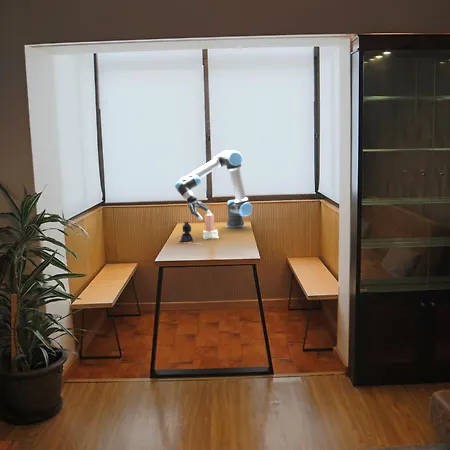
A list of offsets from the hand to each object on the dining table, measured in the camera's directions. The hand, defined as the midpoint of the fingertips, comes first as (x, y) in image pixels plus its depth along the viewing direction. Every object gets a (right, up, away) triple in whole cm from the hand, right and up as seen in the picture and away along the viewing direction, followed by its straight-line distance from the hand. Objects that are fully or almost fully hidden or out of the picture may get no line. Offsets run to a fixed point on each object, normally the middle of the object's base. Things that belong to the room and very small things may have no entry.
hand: (207, 218), depth 403 cm
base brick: (+3, -14, +1) cm, 14 cm away
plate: (+3, -15, +1) cm, 16 cm away
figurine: (-14, -17, -5) cm, 23 cm away
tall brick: (+2, -9, 0) cm, 10 cm away
